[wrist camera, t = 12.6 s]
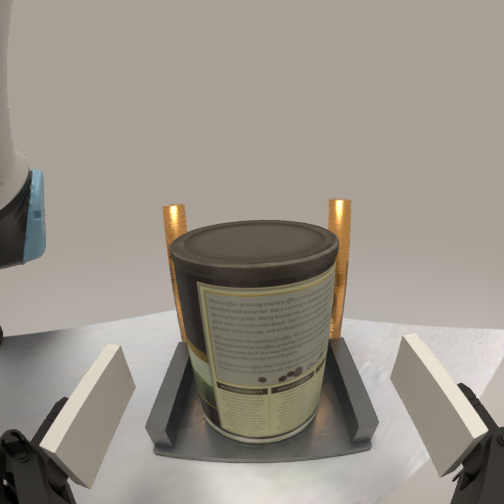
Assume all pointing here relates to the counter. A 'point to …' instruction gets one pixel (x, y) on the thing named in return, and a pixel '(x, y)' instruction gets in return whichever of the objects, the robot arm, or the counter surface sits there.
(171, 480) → the counter surface
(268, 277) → the coffee can
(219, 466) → the counter surface
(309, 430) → the keeper bracket
